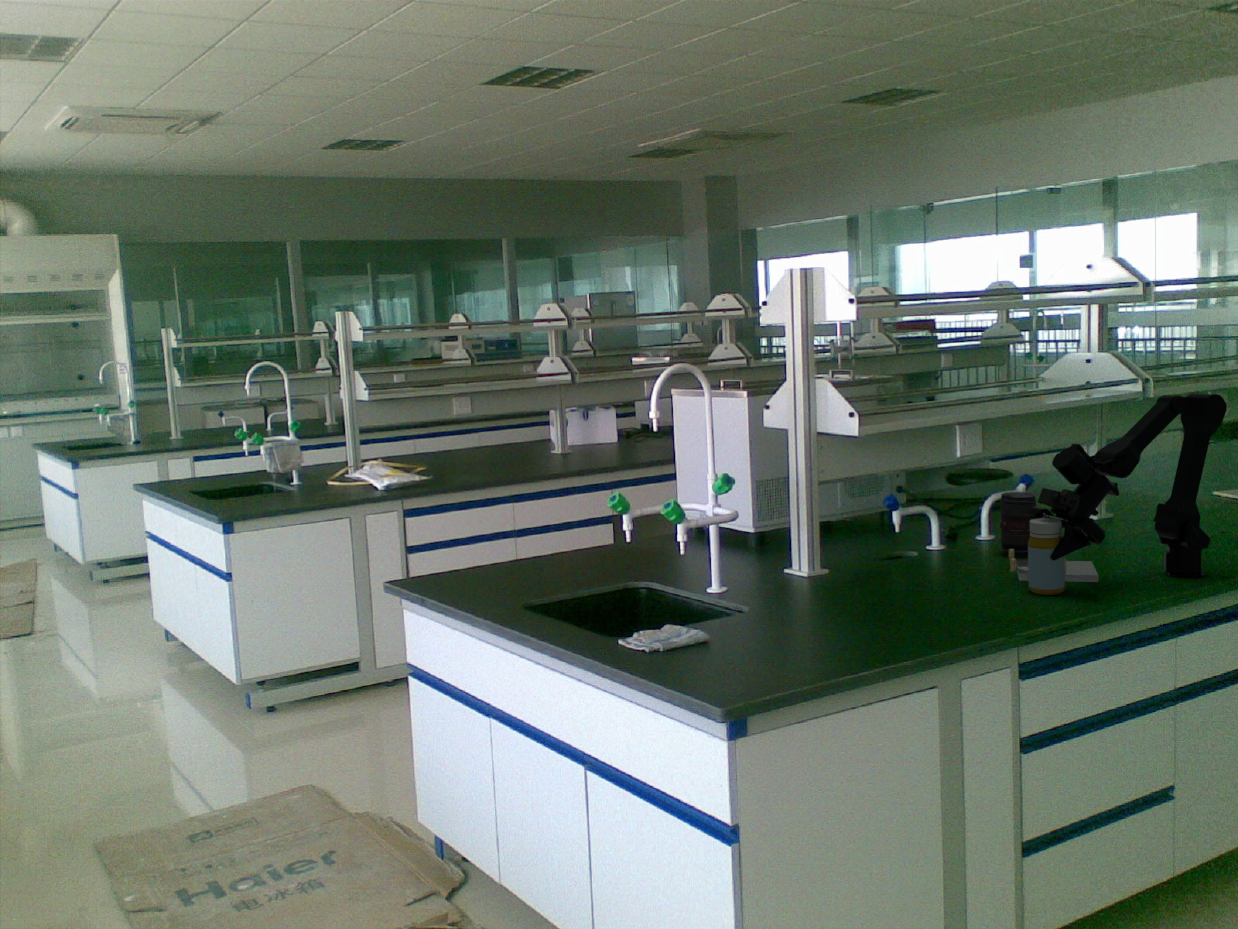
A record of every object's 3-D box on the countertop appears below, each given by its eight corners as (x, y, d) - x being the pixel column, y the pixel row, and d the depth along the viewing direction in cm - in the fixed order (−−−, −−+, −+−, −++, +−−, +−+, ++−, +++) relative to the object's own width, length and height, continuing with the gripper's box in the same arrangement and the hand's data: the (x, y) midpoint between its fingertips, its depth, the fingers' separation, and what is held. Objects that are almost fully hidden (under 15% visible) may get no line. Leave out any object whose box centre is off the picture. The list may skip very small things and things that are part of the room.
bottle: (1056, 586, 230) (1054, 516, 228) (1070, 594, 223) (1069, 522, 221) (1023, 588, 230) (1022, 519, 228) (1037, 596, 223) (1035, 525, 221)
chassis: (1091, 567, 245) (1091, 548, 245) (1098, 582, 232) (1098, 561, 232) (1008, 566, 251) (1008, 547, 250) (1010, 580, 238) (1010, 560, 237)
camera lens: (1014, 560, 257) (1013, 497, 256) (994, 554, 265) (993, 493, 263) (1043, 556, 259) (1043, 494, 258) (1022, 550, 267) (1022, 490, 265)
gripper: (1033, 469, 233) (989, 525, 232) (1092, 479, 215) (1045, 539, 214) (1065, 502, 236) (1022, 557, 235) (1126, 514, 218) (1079, 574, 217)
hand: (1040, 556), depth 225 cm, fingers closed on bottle, 7 cm apart
